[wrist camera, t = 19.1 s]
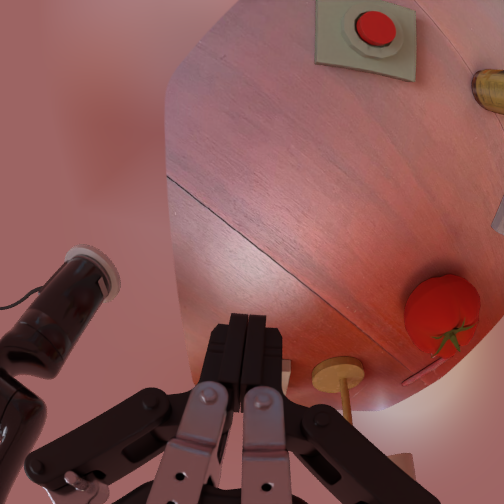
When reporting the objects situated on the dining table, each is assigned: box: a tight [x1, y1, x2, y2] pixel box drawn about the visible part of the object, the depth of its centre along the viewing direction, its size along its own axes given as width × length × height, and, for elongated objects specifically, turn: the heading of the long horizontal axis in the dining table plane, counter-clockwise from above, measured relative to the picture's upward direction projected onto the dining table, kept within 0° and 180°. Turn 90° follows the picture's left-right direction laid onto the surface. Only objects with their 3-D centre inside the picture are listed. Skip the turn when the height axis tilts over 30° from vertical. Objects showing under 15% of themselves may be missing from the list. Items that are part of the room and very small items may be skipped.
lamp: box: [312, 357, 416, 481], centre depth 42 cm, size 18×11×29 cm, turn 89°
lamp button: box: [356, 11, 396, 46], centre depth 20 cm, size 4×4×2 cm
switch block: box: [315, 0, 416, 82], centre depth 23 cm, size 12×10×4 cm
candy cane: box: [402, 354, 447, 387], centre depth 52 cm, size 6×15×2 cm, turn 141°
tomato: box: [404, 274, 481, 359], centre depth 37 cm, size 13×14×12 cm
